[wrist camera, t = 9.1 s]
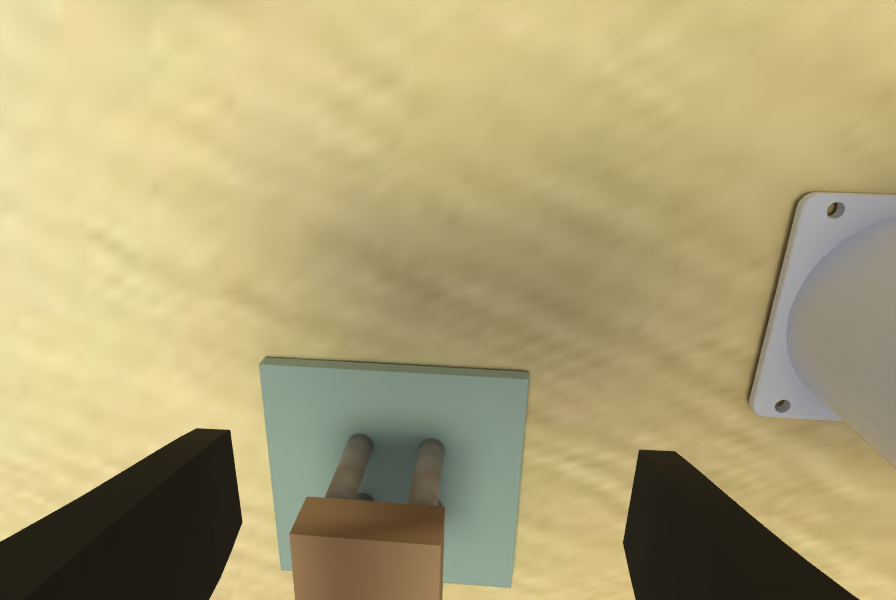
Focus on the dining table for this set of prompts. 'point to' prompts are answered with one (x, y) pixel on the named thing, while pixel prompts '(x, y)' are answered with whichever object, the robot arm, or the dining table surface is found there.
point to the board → (403, 447)
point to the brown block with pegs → (371, 534)
